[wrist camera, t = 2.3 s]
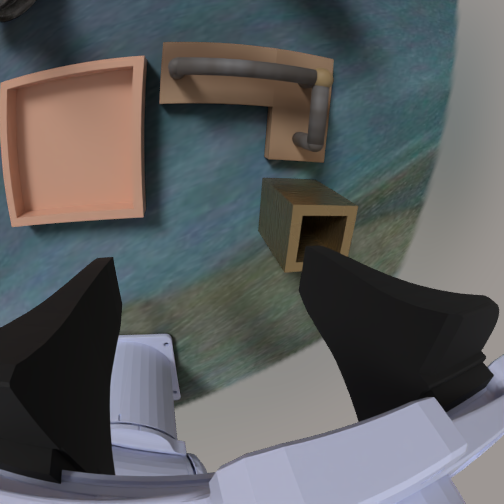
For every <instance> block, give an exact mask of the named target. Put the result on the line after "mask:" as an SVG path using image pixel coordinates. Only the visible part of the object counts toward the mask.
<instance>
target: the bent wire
mask: <svg viewBox="0 0 504 504" xmlns="http://www.w3.org/2000/svg"><path fill="white" fill-rule="evenodd" d="M333 61H334V59H329V58H325V57H320V56H316V55H311V54H305V53H300V52H294V51H288V50H282V49H275V48H268V47H260V46H251V45H241V44H228V43H209V42H163V54H162V66H161V82H160V102H159V104H176V103H209V104H237V105H254V106H267V107H268V117H267V129H266V142H265V155H264V157H266V158H267V159H275V160H294V161H309V162H322V163H324V155H325V147H326V138H327V129H328V120H329V109H330V99H331V87H332V84H333Z"/></svg>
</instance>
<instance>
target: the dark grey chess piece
mask: <svg viewBox="0 0 504 504" xmlns="http://www.w3.org/2000/svg"><path fill="white" fill-rule="evenodd" d="M35 2H36V0H0V22H5V21H10V20H12V19H14V18H16V17H18V16H20V15H21V14H23V13H24V12H26V11H27V10H28V9H29V8H30V7H31V6H32V5H33V4H34V3H35Z"/></svg>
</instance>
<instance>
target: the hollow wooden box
mask: <svg viewBox="0 0 504 504" xmlns="http://www.w3.org/2000/svg"><path fill="white" fill-rule="evenodd" d="M357 209H358V206H357V205H356V204H354V203H352V202H351V201H349V200H348V199H346V198H344V197H343V196H341V195H340V194H338V193H336V192H335V191H333V190H331V189H330V188H328V187H326V186H325V185H323V184H321V183H320V182H318V181H316V180H310V179H287V178H263V180H262V192H261V204H260V217H259V229H258V231H259V233H260V234H261V236H262V238H263V239H264V241H265V242H266V244H267V245H268V247H269V249H270V250H271V252H272V253H273V255H274V256H275V258H276V260H277V261H278V263H279V264H280V266H281V268H282V269H283V271H284V272H298V271H302V267H303V260H304V254H305V247H306V246H318V245H320V246H324V247H327V248H329V249H332V250H334V251H336V252H338V253H341V254H343V255H345V256H347V257H348V253H349V248H350V244H351V239H352V234H353V230H354V225H355V220H356V214H357ZM302 216H303V220H302Z"/></svg>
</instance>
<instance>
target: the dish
mask: <svg viewBox="0 0 504 504" xmlns="http://www.w3.org/2000/svg"><path fill="white" fill-rule="evenodd" d="M146 73H147V59H146V58H145V56H134V57H123V58H113V59H105V60H98V61H91V62H84V63H78V64H73V65H68V66H63V67H58V68H53V69H49V70H44V71H40V72H36V73H32V74H29V75H25V76H21V77H18V78H14V79H11V80H8V81H5V82H2V83H1V88H0V138H1V154H2V165H3V175H4V183H5V190H6V197H7V203H8V209H9V214H10V219H11V224H12V227H17V226H28V225H39V224H50V223H63V222H76V221H90V220H105V219H122V218H140V217H144V214H145V211H146V195H145V163H144V121H145V91H146Z"/></svg>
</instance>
